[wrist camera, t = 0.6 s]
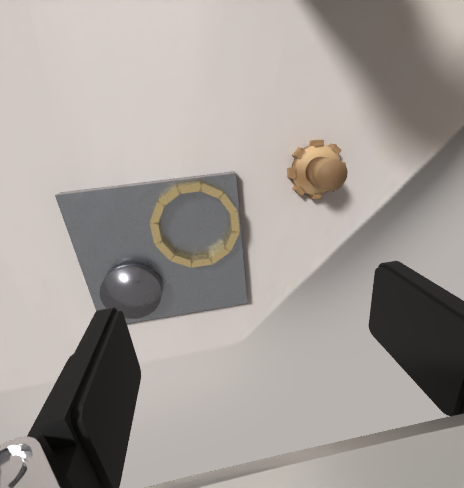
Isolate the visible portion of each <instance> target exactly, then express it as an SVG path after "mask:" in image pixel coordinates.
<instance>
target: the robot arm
mask: <svg viewBox="0 0 464 488" xmlns="http://www.w3.org/2000/svg"><path fill="white" fill-rule="evenodd" d="M369 329H370V332H371V334H372V335H373V336H374V337H375V339H376V340H377V341H378V342H379V343H380V344H381V345H382V346H383V347H384V348H385V349H386V351H387V352H388V353H389V354H390V355H391V356H392V357H393V358H394V359H395V360H396V362H397V363H398V364H399V365H400V366H401V367H402V368H403V369H404V370H405V371H406V372H407V374H408V375H409V376H410V377H411V378H412V379H413V380H414V381H415V382H416V383H417V385H418V386H419V387H420V388H421V389H422V390H423V391H424V392H425V393H426V394H427V396H428V397H429V398H430V399H431V400H432V401H433V402H434V403H435V404H436V405H437V407H438V408H439V409H440V410H441V411H442V412H443V413H444V414H446V415H449V416H450V417H446V418H441V419H437V420H433V421H428V422H424V423H419V424H414V425H410V426H406V427H401V428H396V429H392V430H388V431H383V432H379V433H375V434H370V435H366V436H361V437H357V438H352V439H348V440H344V441H339V442H335V443H331V444H327V445H322V446H317V447H313V448H309V449H304V450H300V451H296V452H291V453H287V454H283V455H279V456H274V457H270V458H266V459H261V460H257V461H253V462H249V463H245V464H240V465H236V466H232V467H227V468H223V469H219V470H215V471H210V472H206V473H202V474H197V475H194V476H189V477H185V478H181V479H177V480H173V481H169V482H165V483H161V484H157V485H153V486H150V487H146V488H464V301H463V300H461V299H460V298H458V297H456V296H455V295H453V294H451V293H450V292H448V291H446V290H445V289H443V288H442V287H440V286H438V285H437V284H435V283H433V282H432V281H430V280H428V279H427V278H425V277H424V276H422V275H420V274H419V273H417V272H415V271H414V270H412V269H410V268H409V267H407V266H405V265H404V264H402V263H400V262H398V261H392V262H386V263H381V264H380V265H379V267H378V268H377V269H376V270H375V276H374V284H373V293H372V301H371V310H370V319H369ZM140 380H141V370H140V366H139V363H138V359H137V356H136V353H135V350H134V346H133V343H132V340H131V337H130V333H129V330H128V327H127V324H126V320H125V317H124V314H123V312H122V311H117V309H116V308H108V309H102V310H97V311H96V313H95V314H94V316H93V318H92V320H91V322H90V324H89V326H88V328H87V330H86V332H85V334H84V336H83V337H82V339H81V341H80V343H79V345H78V347H77V349H76V351H75V353H74V354H73V355H72V356H70V358H69V359H68V361H67V363H66V364H65V366H64V368H63V370H62V372H61V374H60V376H59V377H58V379H57V381H56V383H55V385H54V387H53V389H52V391H51V393H50V394H49V396H48V398H47V400H46V402H45V404H44V406H43V407H42V409H41V411H40V413H39V415H38V417H37V419H36V420H35V422H34V424H33V426H32V428H31V430H30V432H29V434H28V436H27V437H20V438H16V439H13V440H11V441H8V442H6V443H4V444H3V445H1V446H0V488H119V486H120V482H121V477H122V471H123V467H124V462H125V456H126V451H127V446H128V441H129V436H130V431H131V426H132V421H133V416H134V410H135V406H136V401H137V395H138V390H139V385H140Z"/></svg>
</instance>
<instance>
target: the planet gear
mask: <svg viewBox="0 0 464 488" xmlns="http://www.w3.org/2000/svg"><path fill="white" fill-rule="evenodd" d="M340 152H341V149H340V148H339V147H338V146H337V145H336V144H330V145H329V146H325V145H324V140H313V141H310V146H308V147H306V148H304V149H303V148H297V150H296V151H295V152H294V153H293V154H292V156H294V157H295V159H294V161H293V164H292V168H287V177H288V178H290V179H293V182H294V184H295V186H294V187H293V188H292V189H294V190H295V191H296V192H297V193H298V194H300V195H301V196H302V195H303V194H304V193H305V192H306V193H308V194H309V197H310V198H312V199H319V198H322V194H323V193H325V192H327V191H328V190H329V191H333V192H334V190H336V189H338V188H339V187H341V186H342V185H343V183H344V182H345V180H346V178H347V168H346V166H345V165H346V163H344V162H342V161H341V160H340V157H339V155H338V154H339V153H340Z"/></svg>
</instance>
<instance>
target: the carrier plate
mask: <svg viewBox="0 0 464 488" xmlns="http://www.w3.org/2000/svg"><path fill="white" fill-rule="evenodd" d="M55 197H56V199H57V202H58V205H59V208H60V211H61V213H62V216H63V219H64V222H65V225H66V227H67V230H68V233H69V236H70V238H71V241H72V244H73V247H74V250H75V252H76V255H77V258H78V261H79V264H80V266H81V269H82V272H83V275H84V278H85V280H86V283H87V286H88V289H89V292H90V294H91V297H92V300H93V303H94V306H95V308H96V311H97V310H102V309H108V308H116V309H117V311H122V312H123V314H124V317H125V320H126V324H127V323H133V322H139V321H145V320H151V319H157V318H163V317H169V316H175V315H181V314H187V313H193V312H199V311H205V310H211V309H217V308H223V307H229V306H235V305H241V304H247V292H246V281H245V269H244V258H243V247H242V236H241V225H240V213H239V202H238V191H237V180H236V173H235V172H226V173H218V174H210V175H202V176H193V177H185V178H177V179H169V180H160V181H152V182H144V183H136V184H127V185H119V186H111V187H103V188H94V189H86V190H78V191H70V192H61V193H59V194H57V195H55Z"/></svg>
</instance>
